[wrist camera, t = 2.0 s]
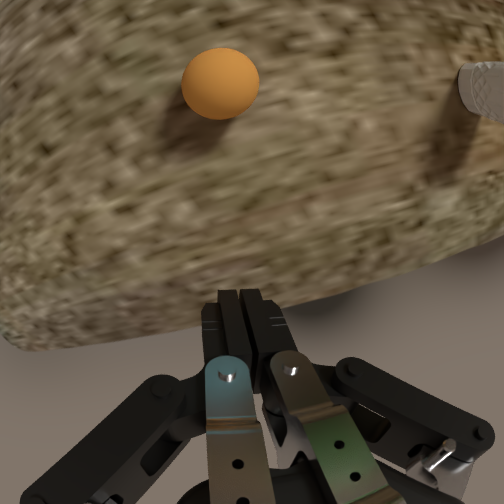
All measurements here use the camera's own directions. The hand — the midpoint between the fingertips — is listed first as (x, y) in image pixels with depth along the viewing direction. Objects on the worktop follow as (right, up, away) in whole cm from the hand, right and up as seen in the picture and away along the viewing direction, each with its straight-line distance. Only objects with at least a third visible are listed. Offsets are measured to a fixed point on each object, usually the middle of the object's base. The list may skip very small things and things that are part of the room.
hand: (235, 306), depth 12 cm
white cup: (+27, +22, +12) cm, 37 cm away
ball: (-2, +14, +6) cm, 16 cm away
